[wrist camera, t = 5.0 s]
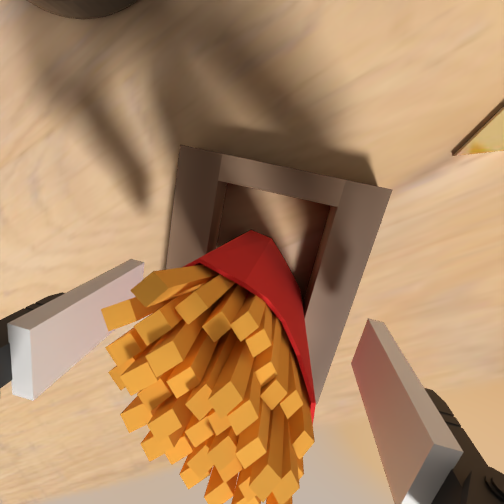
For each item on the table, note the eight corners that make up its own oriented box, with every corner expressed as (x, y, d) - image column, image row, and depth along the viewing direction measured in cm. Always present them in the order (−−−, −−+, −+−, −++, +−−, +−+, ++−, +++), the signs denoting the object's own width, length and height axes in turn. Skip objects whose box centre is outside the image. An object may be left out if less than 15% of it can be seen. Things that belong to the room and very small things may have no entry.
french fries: (315, 314, 20) (354, 543, 8) (264, 335, 21) (225, 566, 9) (254, 203, 18) (175, 262, 6) (202, 232, 19) (45, 334, 7)
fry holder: (169, 339, 22) (155, 359, 20) (195, 148, 18) (180, 144, 16) (314, 379, 21) (316, 404, 19) (378, 187, 17) (392, 189, 15)
